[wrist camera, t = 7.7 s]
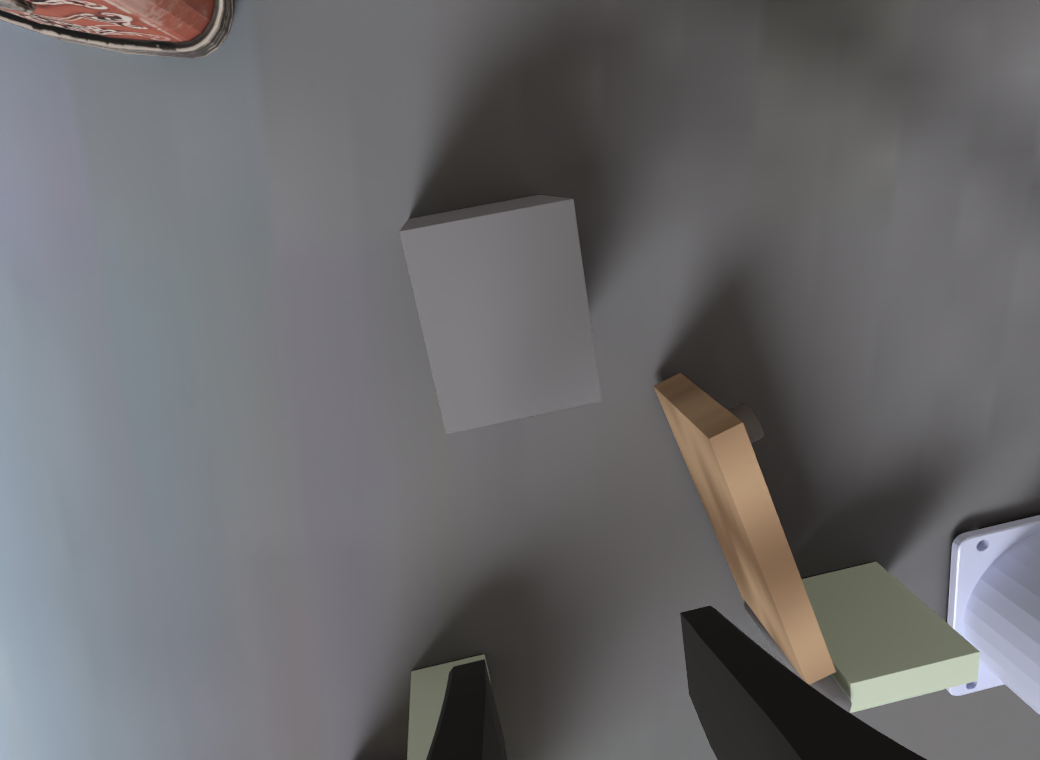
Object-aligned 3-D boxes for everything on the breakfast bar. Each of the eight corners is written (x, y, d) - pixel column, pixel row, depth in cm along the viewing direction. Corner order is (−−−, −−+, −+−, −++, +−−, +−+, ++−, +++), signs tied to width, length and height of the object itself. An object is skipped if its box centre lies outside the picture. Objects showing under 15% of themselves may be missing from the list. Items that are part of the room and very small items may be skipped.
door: (788, 573, 24) (864, 658, 20) (741, 595, 24) (807, 685, 20) (707, 359, 21) (777, 405, 17) (653, 385, 21) (709, 438, 17)
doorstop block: (539, 194, 19) (573, 198, 14) (563, 350, 21) (601, 401, 16) (408, 218, 19) (399, 231, 14) (443, 375, 20) (445, 434, 16)
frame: (876, 561, 25) (985, 656, 20) (875, 586, 25) (982, 685, 20) (411, 671, 24) (404, 801, 19) (418, 695, 24) (414, 829, 19)
